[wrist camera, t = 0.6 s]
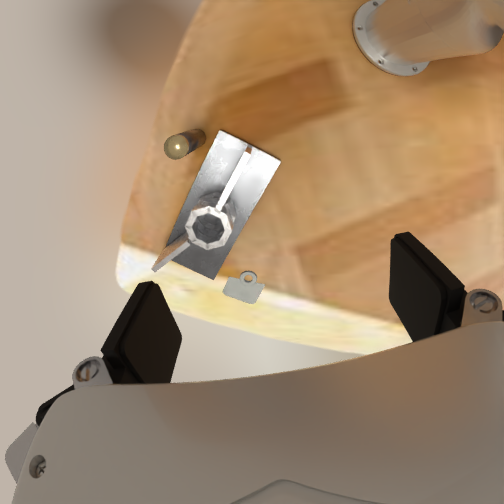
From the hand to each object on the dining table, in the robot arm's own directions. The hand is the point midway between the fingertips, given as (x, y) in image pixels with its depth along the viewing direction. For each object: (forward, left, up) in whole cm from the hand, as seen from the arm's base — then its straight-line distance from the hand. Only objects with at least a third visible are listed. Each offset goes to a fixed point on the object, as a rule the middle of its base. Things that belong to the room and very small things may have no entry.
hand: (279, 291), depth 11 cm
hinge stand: (+10, -3, -30) cm, 32 cm away
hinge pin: (+2, -10, -30) cm, 31 cm away
